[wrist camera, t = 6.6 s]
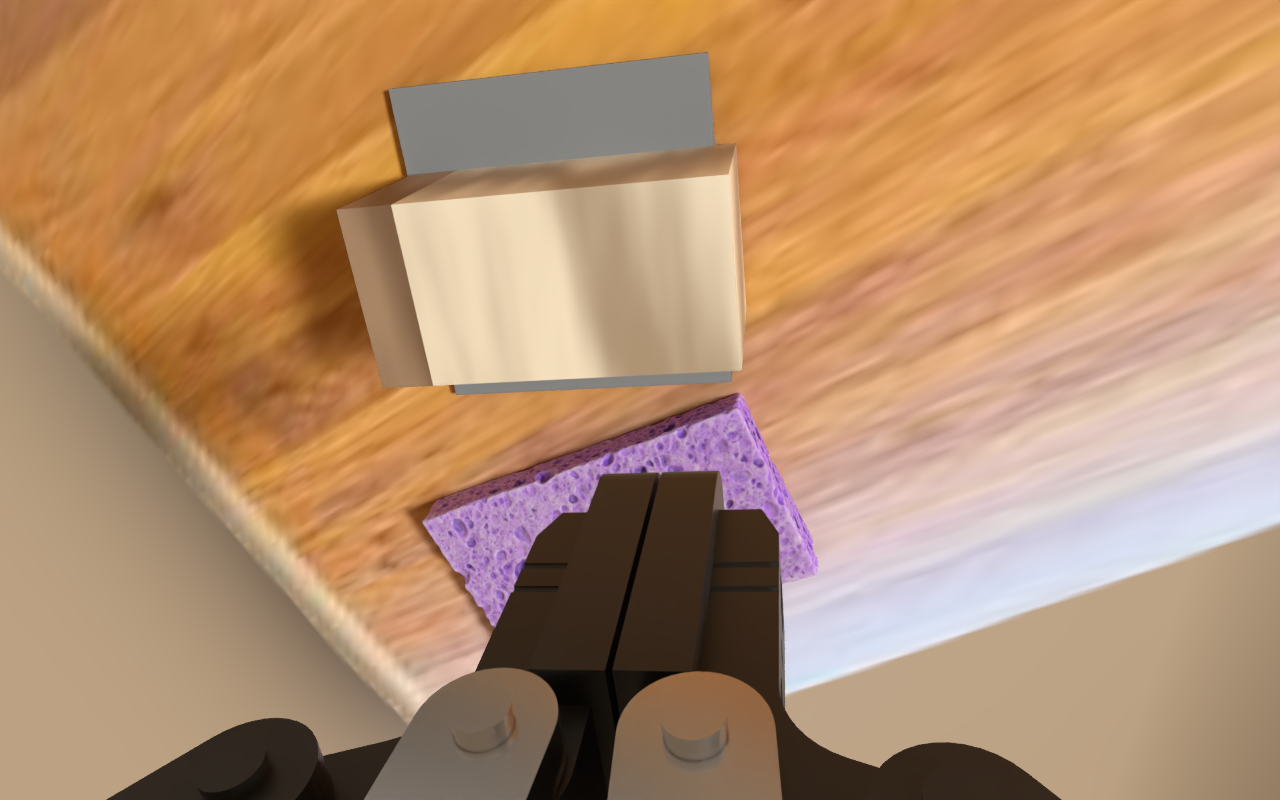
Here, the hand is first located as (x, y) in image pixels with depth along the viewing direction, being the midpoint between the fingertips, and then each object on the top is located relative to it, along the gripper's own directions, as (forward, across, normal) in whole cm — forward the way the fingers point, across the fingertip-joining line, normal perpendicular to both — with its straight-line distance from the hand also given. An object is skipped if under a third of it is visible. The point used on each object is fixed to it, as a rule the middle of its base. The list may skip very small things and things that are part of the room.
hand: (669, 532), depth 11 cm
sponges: (+17, +5, +11) cm, 21 cm away
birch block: (+14, 0, 0) cm, 14 cm away
